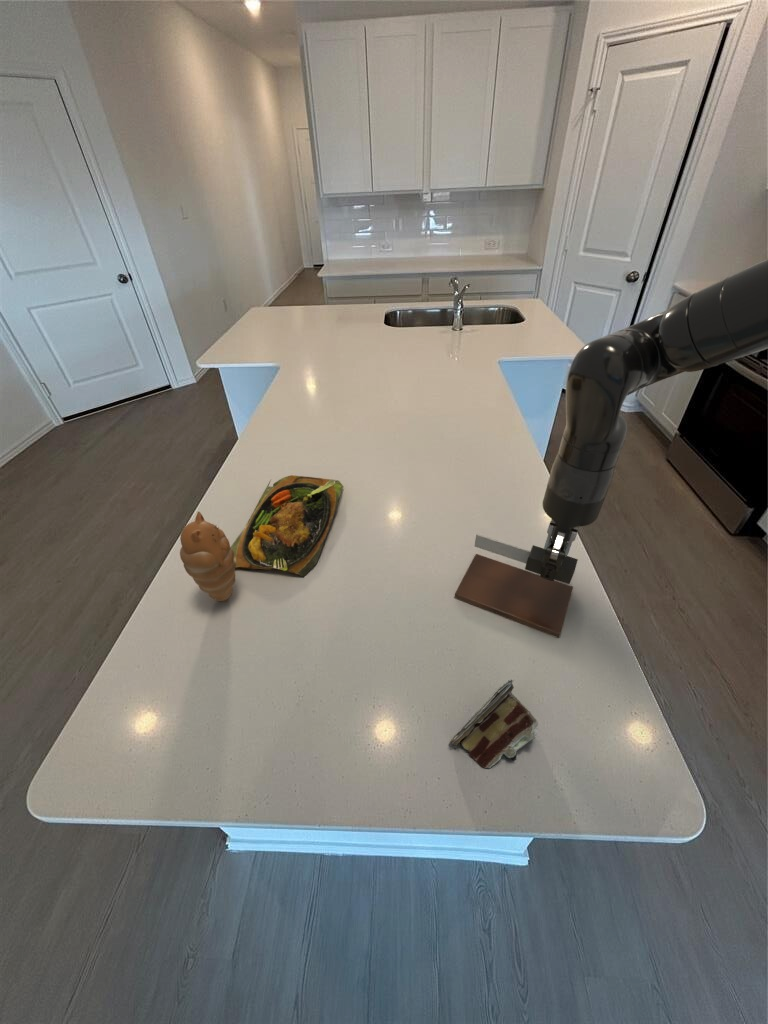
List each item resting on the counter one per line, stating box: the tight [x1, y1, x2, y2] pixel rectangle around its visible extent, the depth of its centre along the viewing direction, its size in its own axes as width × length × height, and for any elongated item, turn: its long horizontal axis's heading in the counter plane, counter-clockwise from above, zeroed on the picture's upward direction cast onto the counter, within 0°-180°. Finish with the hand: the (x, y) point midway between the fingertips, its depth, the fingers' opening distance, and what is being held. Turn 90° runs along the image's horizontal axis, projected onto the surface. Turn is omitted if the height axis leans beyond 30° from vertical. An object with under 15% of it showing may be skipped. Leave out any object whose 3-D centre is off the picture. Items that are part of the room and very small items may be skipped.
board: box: [454, 553, 574, 639], centre depth 78 cm, size 18×11×1 cm, turn 62°
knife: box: [474, 533, 579, 585], centre depth 72 cm, size 16×3×3 cm, turn 62°
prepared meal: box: [230, 474, 344, 577], centre depth 93 cm, size 28×4×18 cm
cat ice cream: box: [179, 511, 236, 602], centre depth 73 cm, size 9×8×18 cm
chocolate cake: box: [448, 679, 539, 769], centre depth 59 cm, size 10×7×12 cm
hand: (549, 569), depth 71 cm, fingers closed on knife, 3 cm apart
